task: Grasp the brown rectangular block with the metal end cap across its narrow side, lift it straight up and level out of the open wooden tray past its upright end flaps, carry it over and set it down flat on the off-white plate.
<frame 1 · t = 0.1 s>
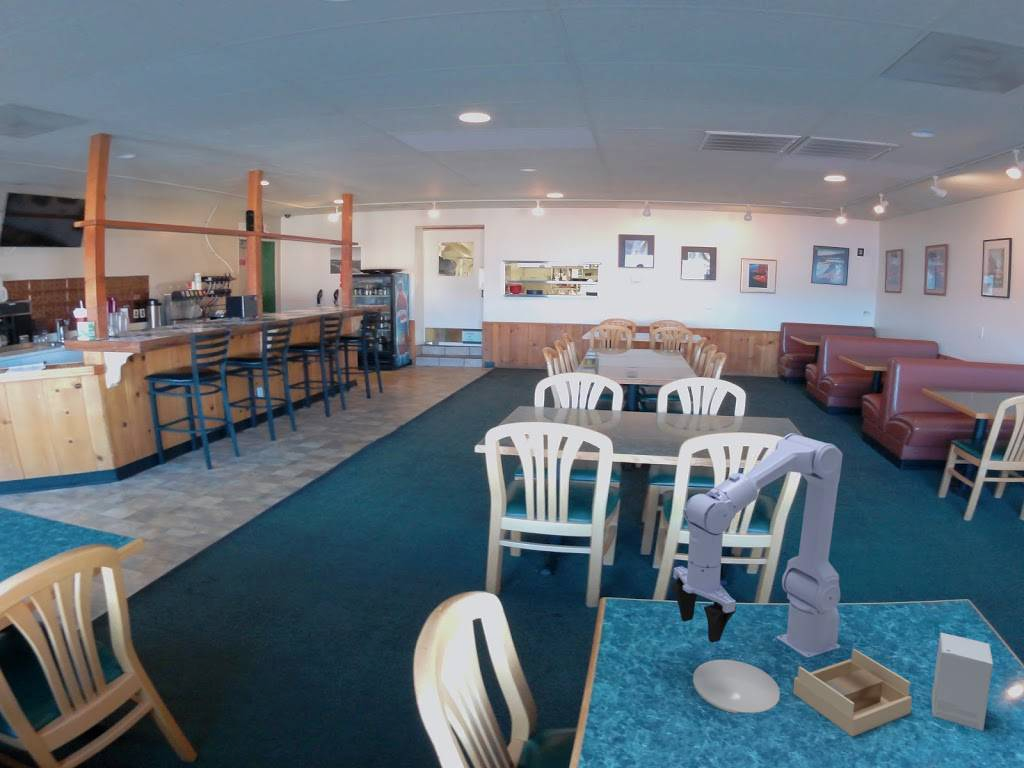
hand: (700, 630, 122), 10 cm above the table, tool pointing down, fingers open, 7 cm apart
plate: (735, 687, 121), on the table
wooden tray: (850, 705, 116), on the table
brown rectangular block: (850, 702, 116), resting on wooden tray
supplement box: (956, 714, 114), on the table
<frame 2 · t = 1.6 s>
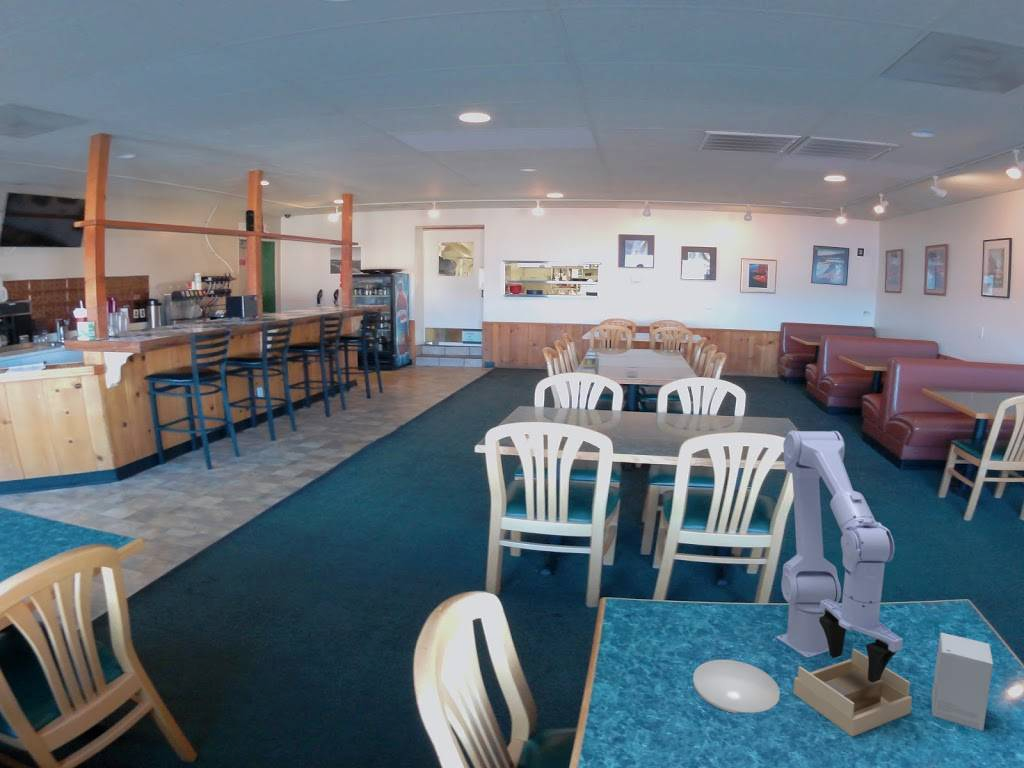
hand: (854, 667, 115), 7 cm above the table, tool pointing down, fingers open, 7 cm apart
nothing on the table moved.
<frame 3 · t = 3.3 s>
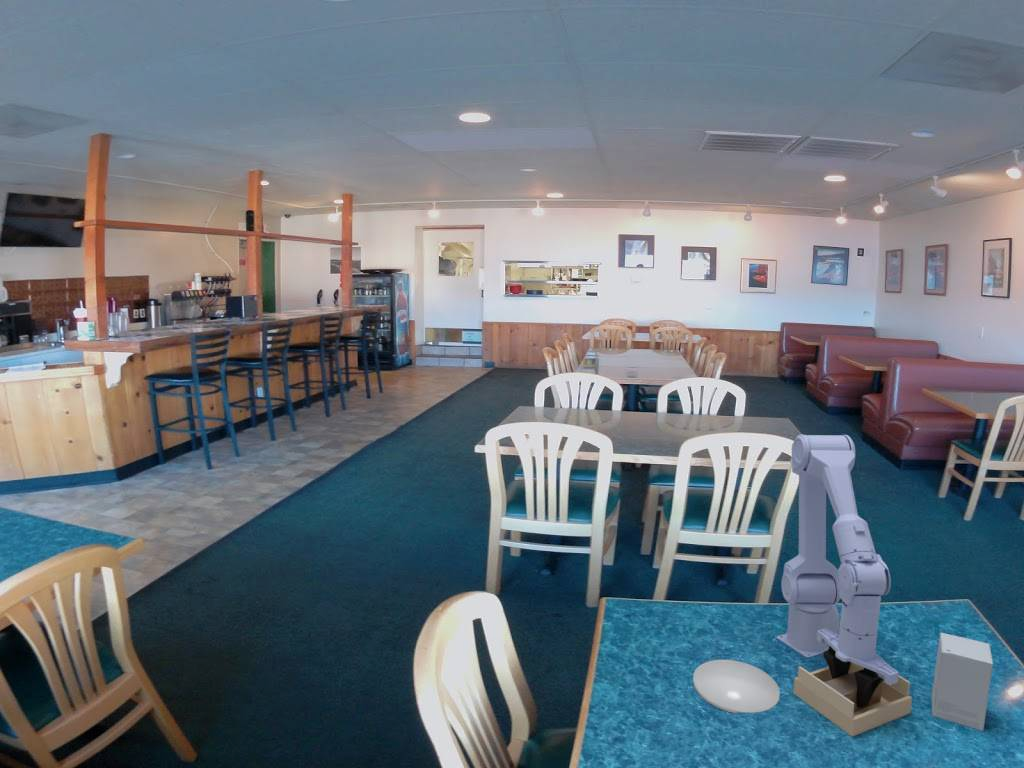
hand: (850, 698, 116), 1 cm above the table, tool pointing down, fingers closed on brown rectangular block, 4 cm apart
brown rectangular block: (850, 702, 116), resting on wooden tray, touching gripper
everything else where it was.
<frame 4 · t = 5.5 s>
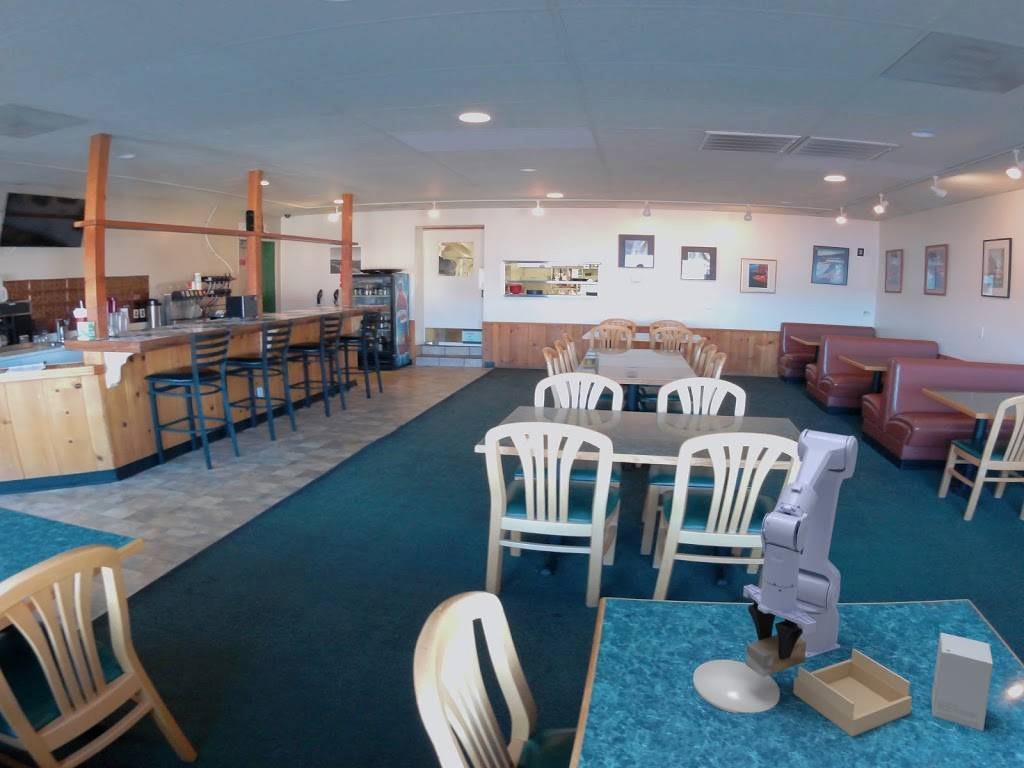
hand: (774, 650, 118), 8 cm above the table, tool pointing down, fingers closed on brown rectangular block, 4 cm apart
brown rectangular block: (775, 663, 119), point 6 cm above the table, touching gripper
everything else where it was.
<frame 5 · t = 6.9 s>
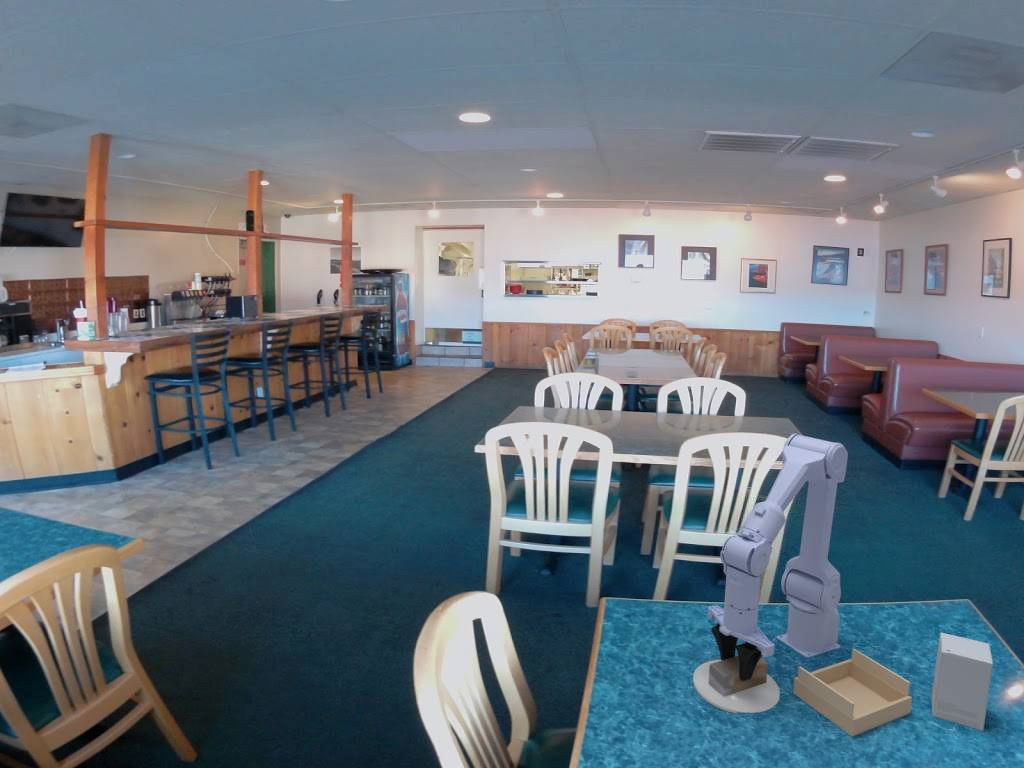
hand: (736, 671, 120), 3 cm above the table, tool pointing down, fingers closed on brown rectangular block, 4 cm apart
brown rectangular block: (737, 683, 121), point 1 cm above the table, touching gripper, plate
everything else where it was.
when the fingers open (3 cm above the table, at t = 7.8 s): brown rectangular block stays where it is, resting on plate.
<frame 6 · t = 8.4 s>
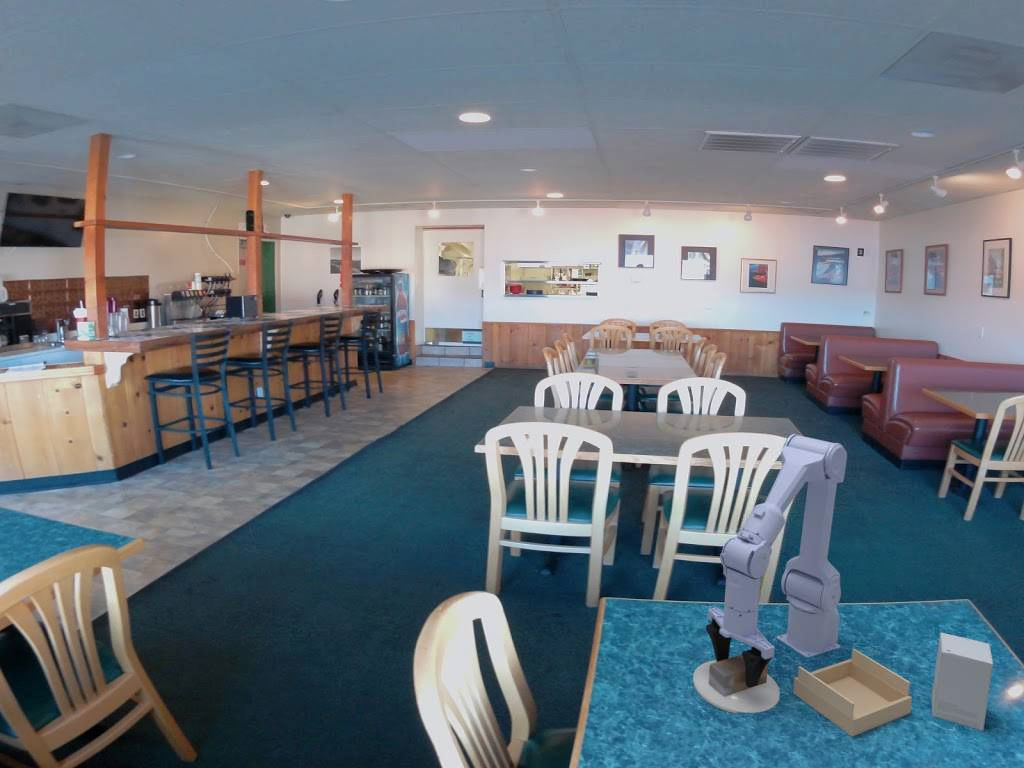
hand: (736, 673, 121), 3 cm above the table, tool pointing down, fingers open, 7 cm apart
brown rectangular block: (737, 683, 121), point 1 cm above the table, touching plate
everything else where it was.
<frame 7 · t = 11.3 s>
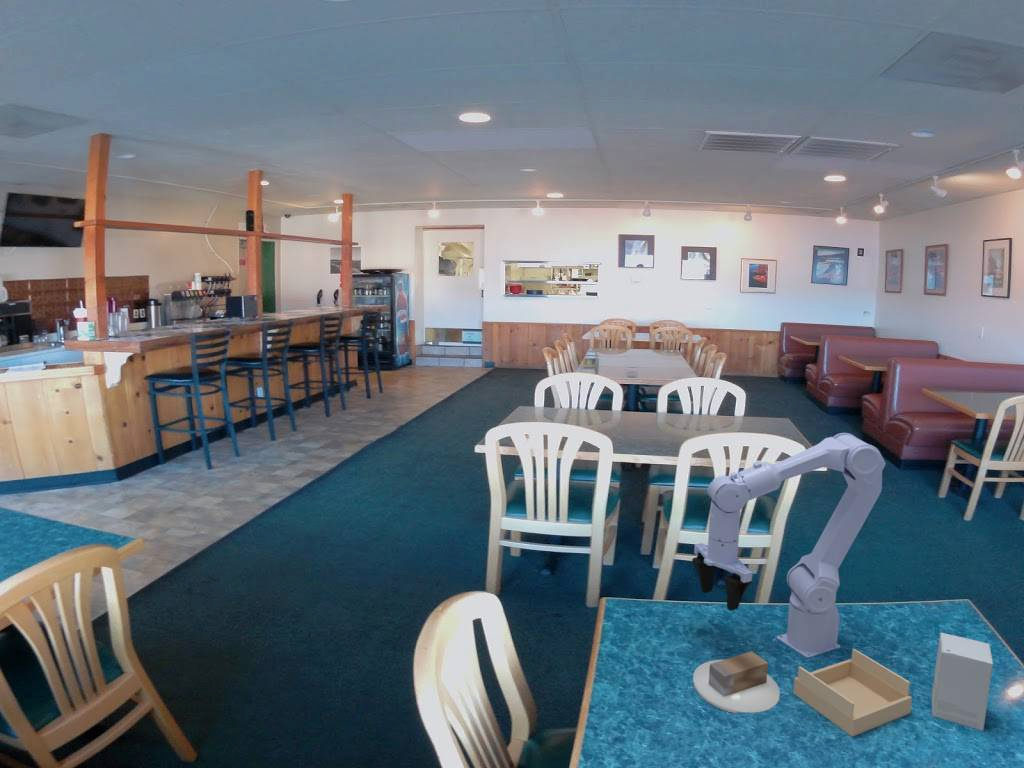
hand: (719, 600, 134), 9 cm above the table, tool pointing down, fingers open, 7 cm apart
nothing on the table moved.
at the end: brown rectangular block inside the target area on the plate (0.4 cm from its centre), point 0.8 cm above the plate's base; brown rectangular block tilted 0°; the gripper is holding nothing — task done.
